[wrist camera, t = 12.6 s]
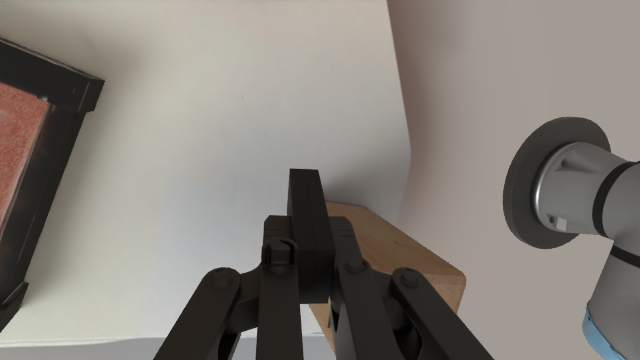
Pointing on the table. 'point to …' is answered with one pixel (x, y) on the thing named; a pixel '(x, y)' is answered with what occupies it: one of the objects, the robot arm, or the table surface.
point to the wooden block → (393, 258)
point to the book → (33, 153)
